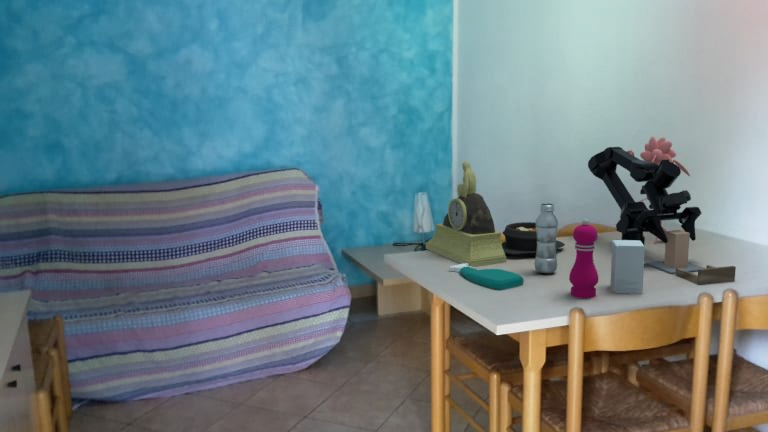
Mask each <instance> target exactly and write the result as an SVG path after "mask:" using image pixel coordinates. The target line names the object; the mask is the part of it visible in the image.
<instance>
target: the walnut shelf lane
mask: <svg viewBox="0 0 768 432" xmlns="http://www.w3.org/2000/svg"><path fill="white" fill-rule="evenodd" d="M736 267H737V266H735V265H728V266H727V265H726V266H717V267H716V266H713V265H711V264H706V267H705V268H706V269H698V272H697V274H696V273H695V272H688V271H686V270H683V269H680V268H676V274H675V276H676V277H679V278H682V279H684V280H687V281H689V282H692V283H695V284H696V285H699V286H700V285H711V283H712V284H719V283H720V282H721V283H728V282H729V283H730V282H735V281H736V269H737V268H736Z"/></svg>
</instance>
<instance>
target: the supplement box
mask: <svg viewBox="0 0 768 432" xmlns="http://www.w3.org/2000/svg"><path fill="white" fill-rule="evenodd" d="M645 247H646V245H643V243H642V242H641V241H640V240H621V239H613V240H612V242H611V259H610V260H611V261H610V264H611V265H610V288H611V290H612V292H613V293H615V294H616V293H617V294H638V295H641V294H643V290H644V267H645V249H646V248H645Z"/></svg>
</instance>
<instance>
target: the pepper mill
mask: <svg viewBox="0 0 768 432" xmlns="http://www.w3.org/2000/svg"><path fill="white" fill-rule="evenodd" d="M581 223H582V224H579V225H577V226H576V227H575V228H574V229H573V231H572V232H573V233H572V239H574V240H575V243H574V250H576V251H575V252H576V255H575V260H574V263H573V265H572V268H571V270H570V273H569V278H568V279H569V282H570V284H571V285H572V286H571V287H570V295H571V296H572V297H573V298H574V297H575V298H577V299H592V298H595V297H596V296H597V288H596V287H595V286H597V284H598V283H599V273H598V270H597V268H596V266H595V263H594V251H595V250H596V244H595V242H596V241H597V239H598V230H597V229H596V227H595V226H593V225H590V220H589V219H588V218H583V219H582V220H581ZM574 240H573V241H574Z"/></svg>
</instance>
